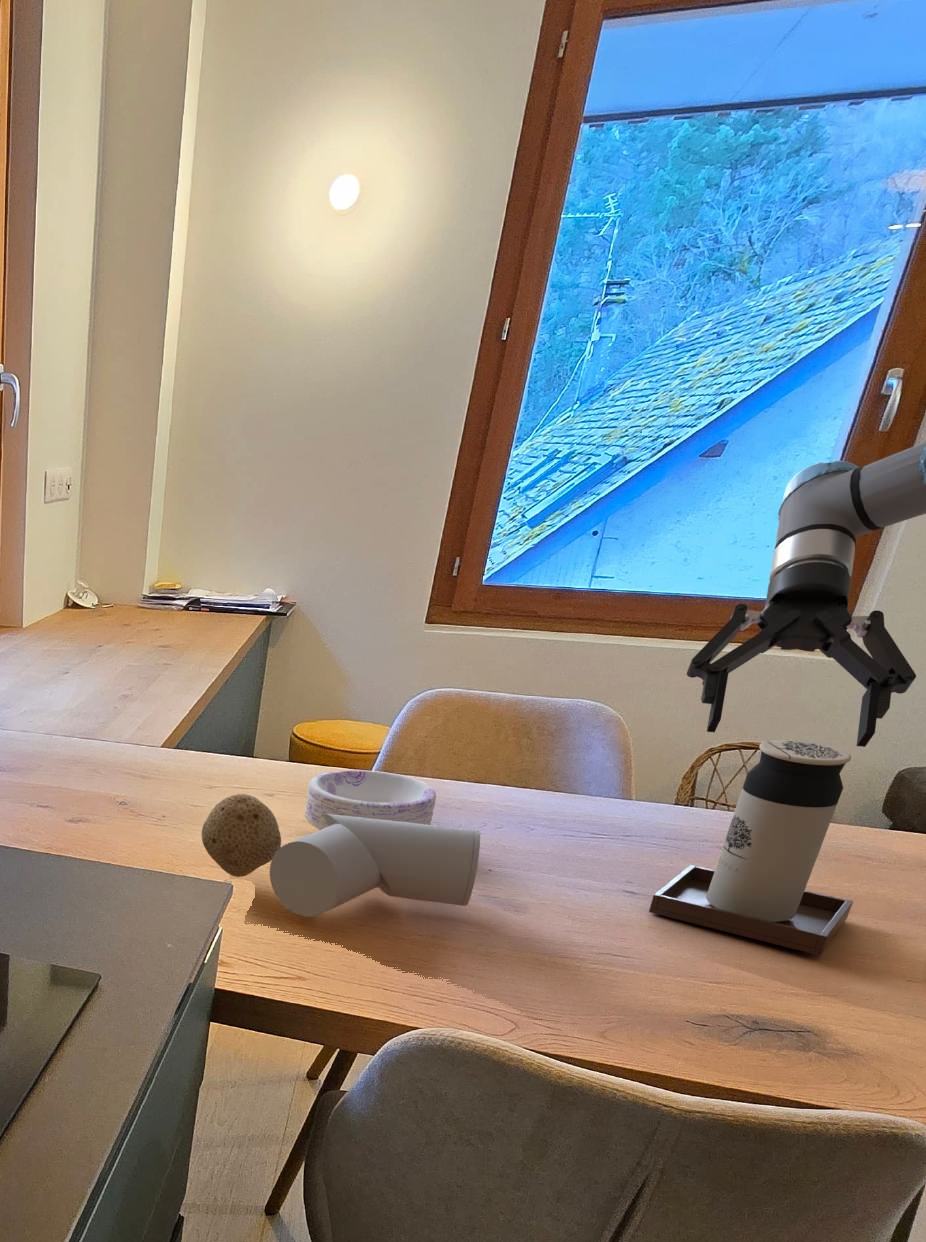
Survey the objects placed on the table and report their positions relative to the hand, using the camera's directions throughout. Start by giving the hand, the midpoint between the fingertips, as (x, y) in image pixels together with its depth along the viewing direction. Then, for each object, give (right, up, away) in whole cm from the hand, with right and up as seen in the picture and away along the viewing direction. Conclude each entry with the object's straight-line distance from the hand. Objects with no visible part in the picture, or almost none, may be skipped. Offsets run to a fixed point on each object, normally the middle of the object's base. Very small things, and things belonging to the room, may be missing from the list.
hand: (787, 732), depth 115 cm
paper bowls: (-39, -11, +20) cm, 46 cm away
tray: (-6, -20, -1) cm, 21 cm away
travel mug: (-6, -20, -2) cm, 21 cm away
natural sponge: (-59, -15, +10) cm, 62 cm away
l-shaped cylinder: (-45, -19, +1) cm, 49 cm away
